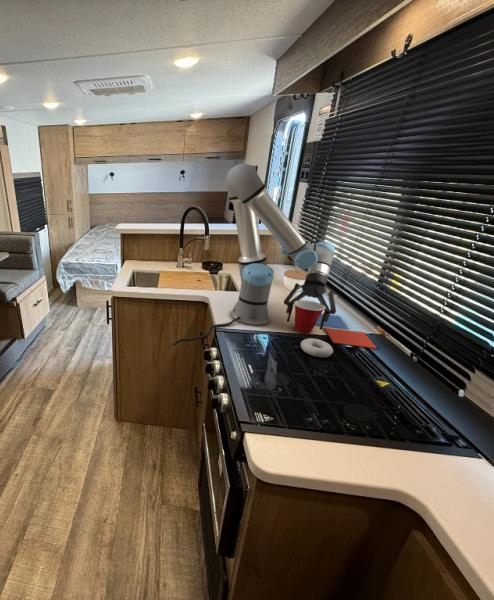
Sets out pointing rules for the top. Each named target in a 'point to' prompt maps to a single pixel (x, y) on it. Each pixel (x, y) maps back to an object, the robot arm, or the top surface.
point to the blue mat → (332, 322)
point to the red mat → (349, 338)
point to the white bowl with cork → (293, 279)
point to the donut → (316, 348)
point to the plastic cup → (307, 315)
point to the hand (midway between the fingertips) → (304, 324)
